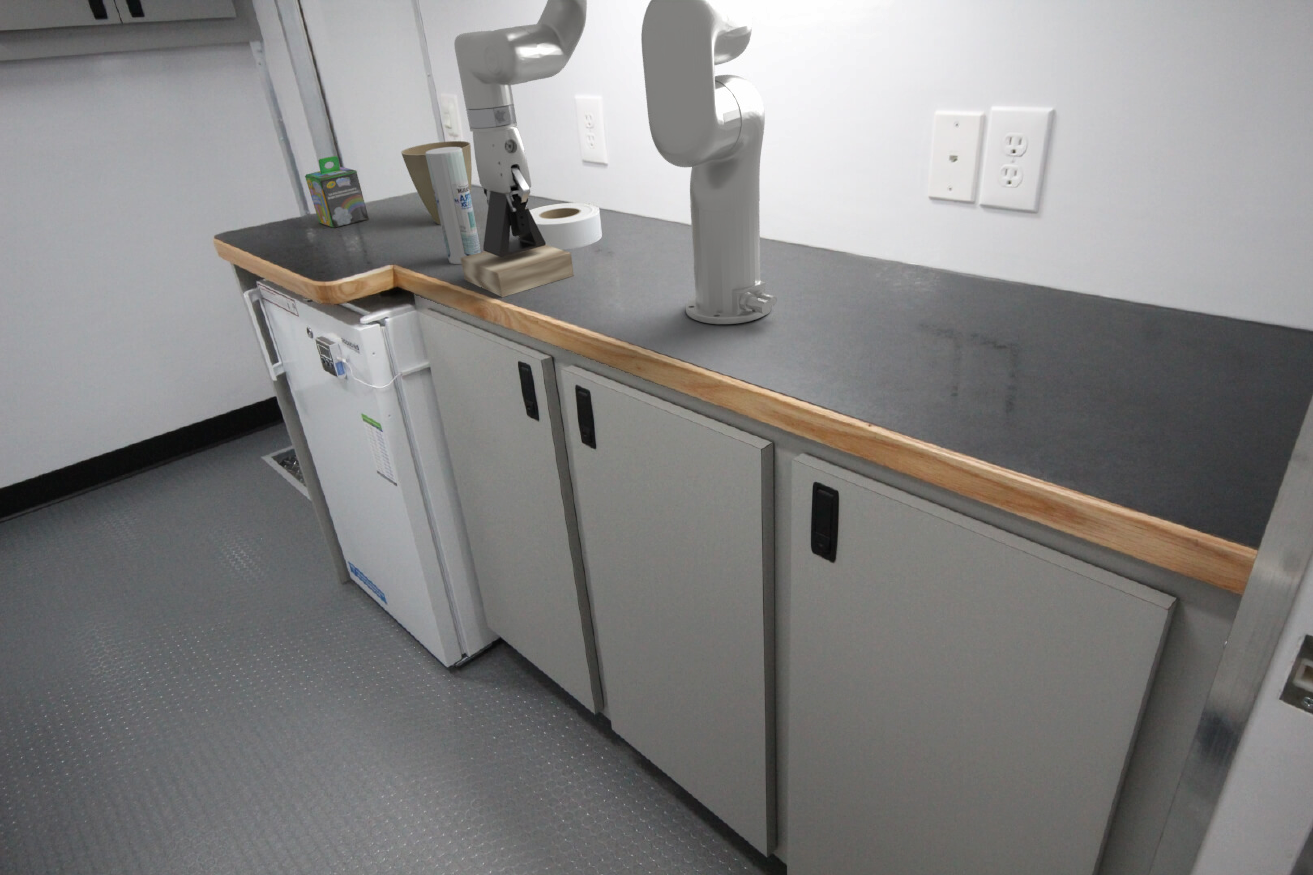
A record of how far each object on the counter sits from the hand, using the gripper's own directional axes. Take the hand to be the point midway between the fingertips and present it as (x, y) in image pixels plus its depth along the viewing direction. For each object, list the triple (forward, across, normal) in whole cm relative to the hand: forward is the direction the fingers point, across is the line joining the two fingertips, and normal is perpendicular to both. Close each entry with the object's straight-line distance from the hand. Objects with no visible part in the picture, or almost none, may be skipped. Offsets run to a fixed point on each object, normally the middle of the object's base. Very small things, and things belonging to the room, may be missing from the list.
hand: (511, 230), depth 134 cm
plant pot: (+8, +51, -11) cm, 53 cm away
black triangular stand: (+3, 0, 0) cm, 3 cm away
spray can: (+8, +19, +1) cm, 21 cm away
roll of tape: (+9, +15, -19) cm, 26 cm away
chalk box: (+8, +74, +6) cm, 75 cm away
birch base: (+8, 0, 0) cm, 8 cm away
